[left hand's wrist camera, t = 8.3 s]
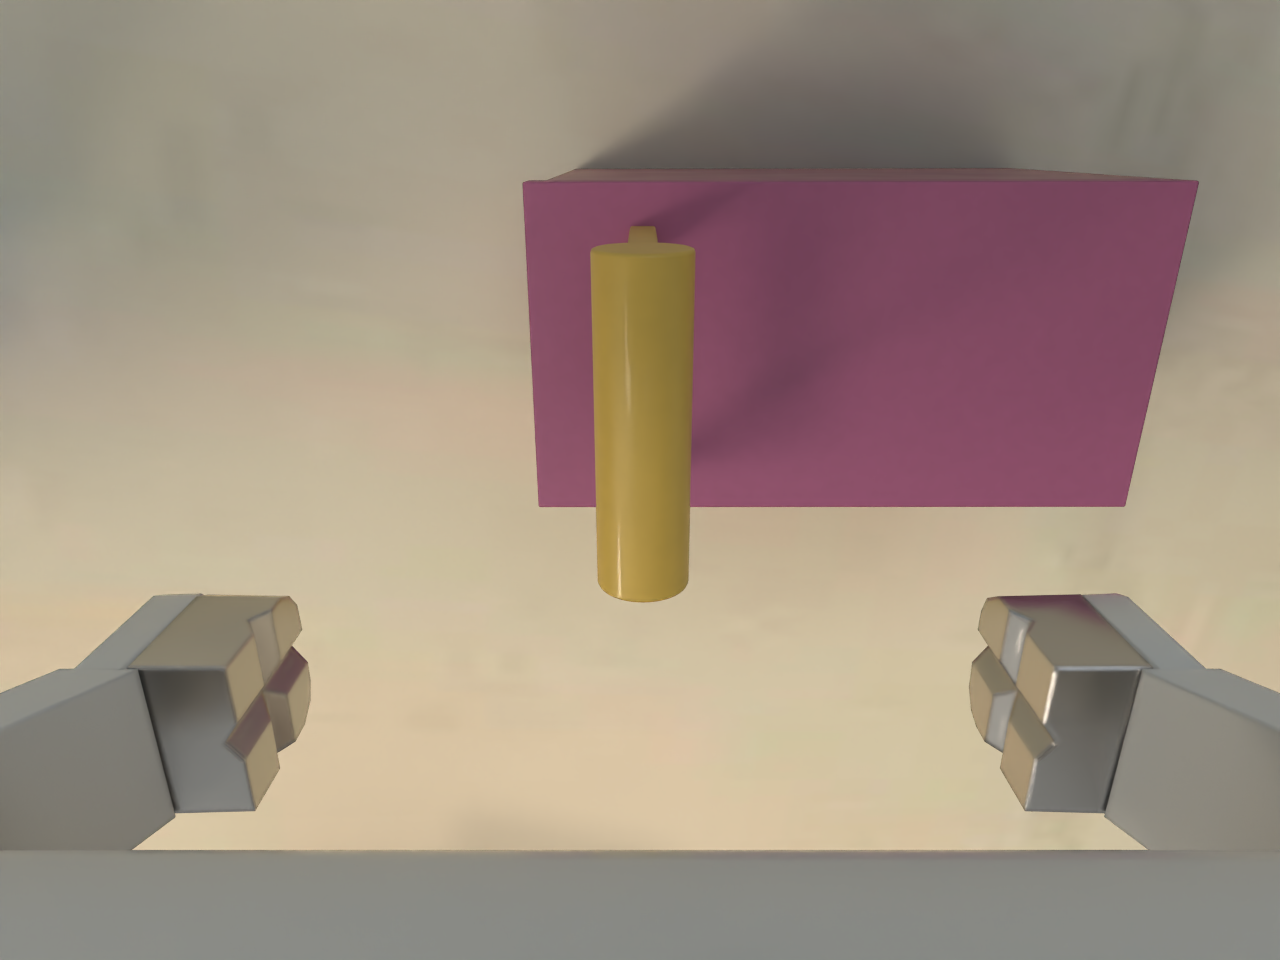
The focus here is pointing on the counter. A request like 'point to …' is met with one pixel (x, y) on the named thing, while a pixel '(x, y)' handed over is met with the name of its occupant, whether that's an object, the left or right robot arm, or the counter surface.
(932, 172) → the chest
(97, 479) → the counter surface
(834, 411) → the lid
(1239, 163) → the counter surface
